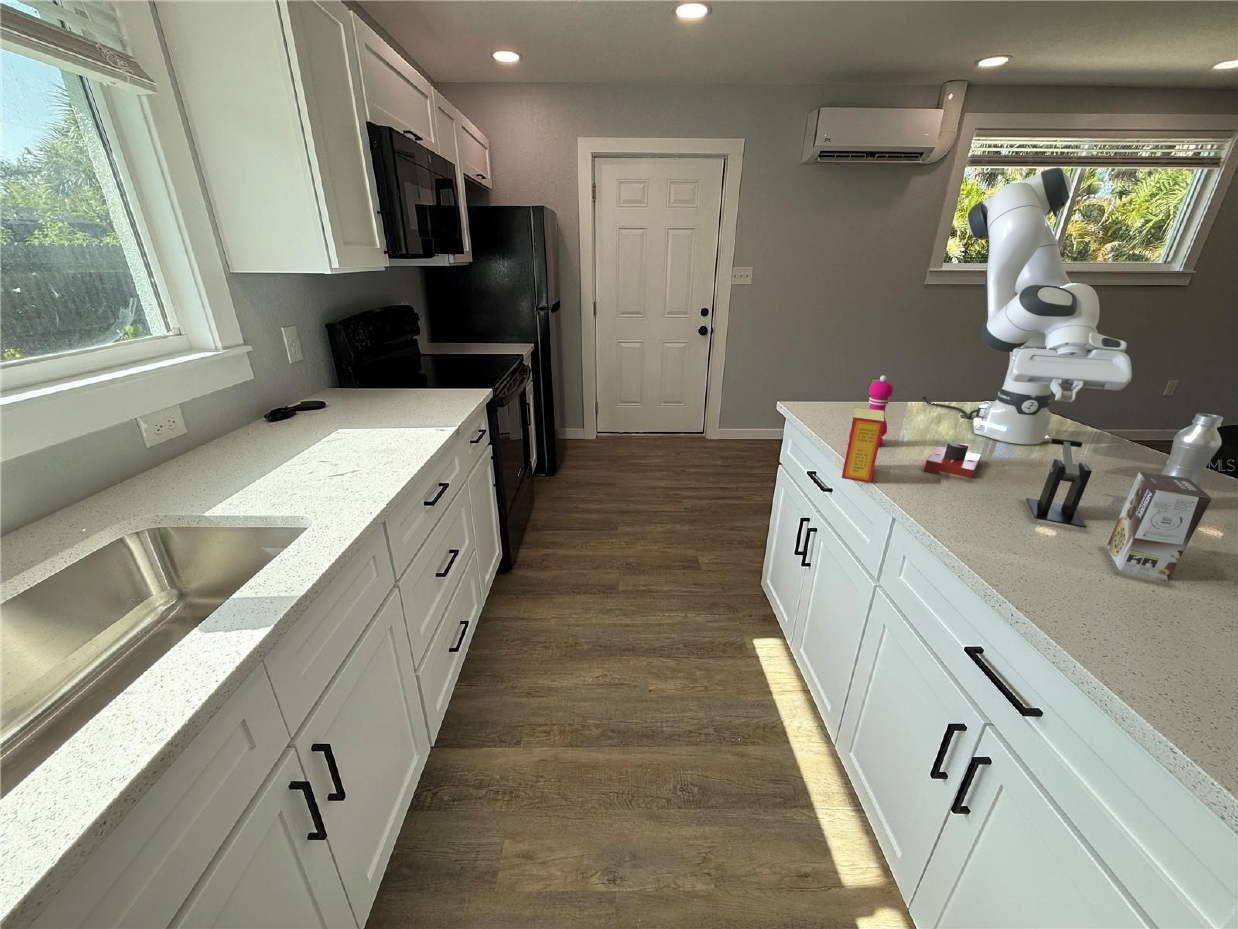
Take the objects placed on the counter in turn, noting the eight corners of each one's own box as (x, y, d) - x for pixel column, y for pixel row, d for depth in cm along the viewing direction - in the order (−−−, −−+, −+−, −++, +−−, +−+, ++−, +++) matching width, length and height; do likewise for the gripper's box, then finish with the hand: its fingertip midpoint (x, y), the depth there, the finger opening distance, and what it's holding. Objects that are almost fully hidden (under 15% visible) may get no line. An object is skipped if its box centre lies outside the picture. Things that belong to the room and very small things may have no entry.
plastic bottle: (1183, 512, 103) (1228, 422, 96) (1141, 499, 109) (1180, 413, 101) (1195, 506, 106) (1240, 418, 98) (1153, 493, 112) (1192, 409, 104)
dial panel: (934, 456, 134) (937, 445, 132) (978, 465, 127) (981, 454, 126) (923, 470, 125) (926, 459, 123) (970, 481, 118) (974, 469, 117)
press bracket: (1024, 502, 108) (1042, 453, 104) (1070, 510, 105) (1091, 459, 100) (1033, 522, 100) (1053, 469, 96) (1084, 531, 97) (1107, 477, 92)
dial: (942, 457, 125) (946, 443, 123) (946, 452, 128) (950, 439, 126) (962, 461, 122) (966, 447, 120) (966, 457, 125) (970, 443, 123)
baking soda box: (843, 464, 129) (855, 405, 122) (871, 468, 126) (884, 409, 120) (841, 478, 121) (853, 416, 114) (870, 483, 118) (884, 419, 112)
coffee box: (1168, 586, 81) (1214, 499, 74) (1116, 573, 84) (1155, 489, 78) (1151, 559, 88) (1191, 477, 82) (1103, 549, 91) (1138, 469, 85)
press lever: (1048, 442, 106) (1053, 434, 104) (1078, 446, 104) (1083, 438, 102) (1051, 479, 100) (1056, 471, 98) (1083, 484, 97) (1089, 476, 96)
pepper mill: (887, 448, 139) (902, 378, 131) (859, 446, 141) (873, 377, 133) (879, 439, 146) (894, 373, 138) (854, 438, 147) (866, 372, 139)
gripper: (1017, 336, 113) (1010, 386, 109) (1137, 342, 104) (1134, 398, 100) (1009, 353, 119) (1002, 401, 115) (1122, 360, 109) (1119, 413, 105)
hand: (1065, 400), depth 107 cm, fingers closed
